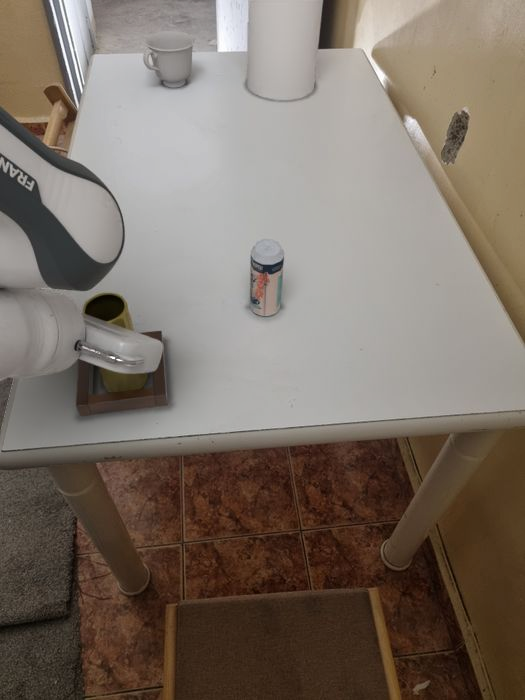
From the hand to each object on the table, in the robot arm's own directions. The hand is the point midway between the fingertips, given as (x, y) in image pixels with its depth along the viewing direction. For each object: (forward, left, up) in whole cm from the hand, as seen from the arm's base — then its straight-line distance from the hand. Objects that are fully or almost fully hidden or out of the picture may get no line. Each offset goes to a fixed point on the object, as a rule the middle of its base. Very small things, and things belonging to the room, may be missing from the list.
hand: (109, 329), depth 66 cm
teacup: (+12, +91, -9) cm, 92 cm away
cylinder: (+40, +88, -9) cm, 97 cm away
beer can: (+22, +10, -9) cm, 26 cm away
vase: (0, -1, -9) cm, 9 cm away
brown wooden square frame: (0, -1, -9) cm, 9 cm away
